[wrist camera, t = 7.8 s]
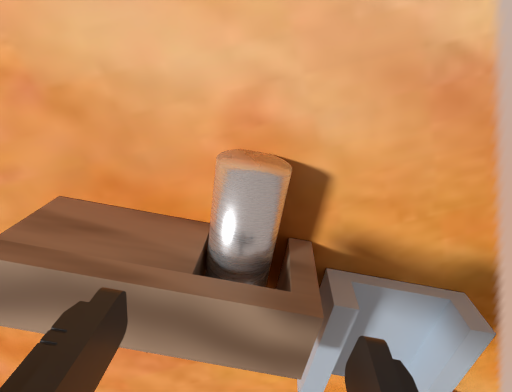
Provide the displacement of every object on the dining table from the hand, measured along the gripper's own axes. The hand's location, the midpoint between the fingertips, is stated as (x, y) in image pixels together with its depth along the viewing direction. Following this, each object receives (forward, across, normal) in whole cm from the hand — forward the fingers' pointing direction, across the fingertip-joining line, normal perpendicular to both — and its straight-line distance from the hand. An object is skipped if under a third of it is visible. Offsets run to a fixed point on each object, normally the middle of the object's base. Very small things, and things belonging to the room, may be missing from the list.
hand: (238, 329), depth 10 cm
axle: (+10, 0, +3) cm, 11 cm away
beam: (+10, +5, +5) cm, 12 cm away
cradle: (+10, -11, +10) cm, 18 cm away
